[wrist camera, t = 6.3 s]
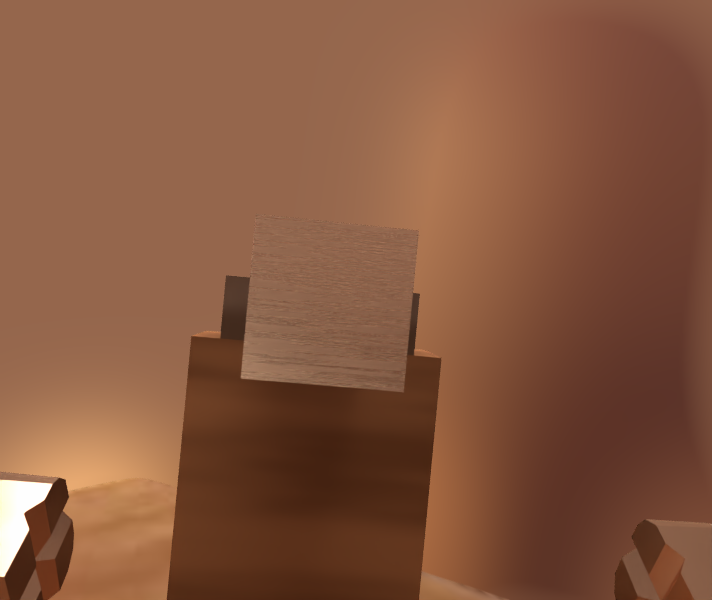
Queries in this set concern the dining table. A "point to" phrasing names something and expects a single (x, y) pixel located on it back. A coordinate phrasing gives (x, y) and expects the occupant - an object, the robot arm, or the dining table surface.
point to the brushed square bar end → (329, 303)
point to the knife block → (299, 478)
